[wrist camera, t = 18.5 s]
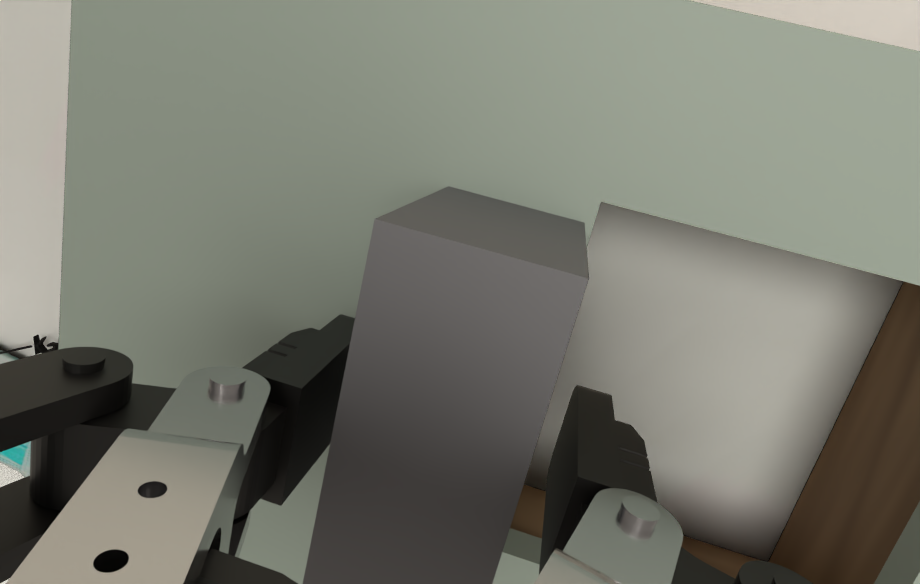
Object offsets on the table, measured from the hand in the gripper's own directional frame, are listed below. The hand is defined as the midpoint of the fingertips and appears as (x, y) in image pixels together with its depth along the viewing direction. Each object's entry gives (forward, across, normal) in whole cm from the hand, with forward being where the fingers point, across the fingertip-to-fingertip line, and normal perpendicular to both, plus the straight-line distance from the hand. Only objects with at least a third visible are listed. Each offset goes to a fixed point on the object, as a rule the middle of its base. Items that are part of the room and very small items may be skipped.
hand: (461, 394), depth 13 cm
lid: (+2, -1, 0) cm, 3 cm away
